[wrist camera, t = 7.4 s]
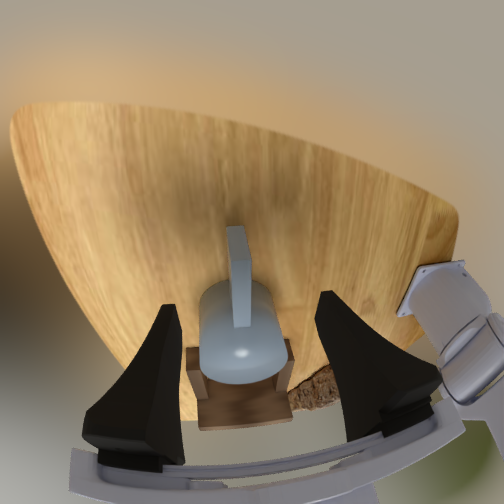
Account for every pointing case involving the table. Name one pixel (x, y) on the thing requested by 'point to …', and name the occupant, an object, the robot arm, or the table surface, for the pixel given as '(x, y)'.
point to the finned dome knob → (239, 323)
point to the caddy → (240, 397)
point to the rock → (315, 392)
